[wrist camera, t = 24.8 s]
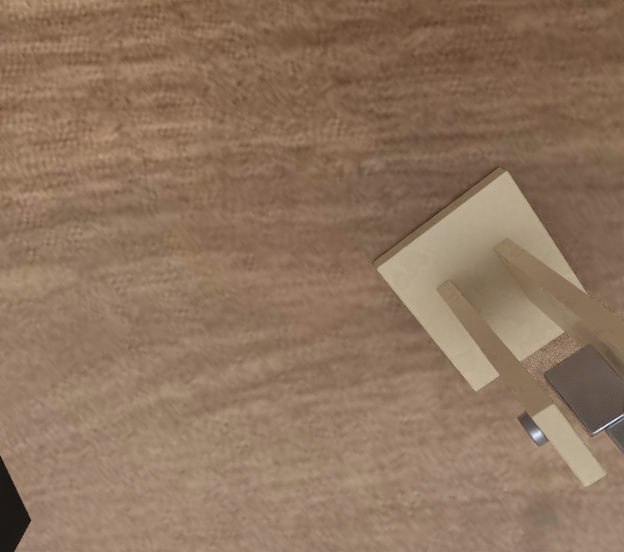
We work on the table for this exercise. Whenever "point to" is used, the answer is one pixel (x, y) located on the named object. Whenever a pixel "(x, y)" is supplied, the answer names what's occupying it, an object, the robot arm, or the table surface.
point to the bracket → (502, 302)
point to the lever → (591, 392)
